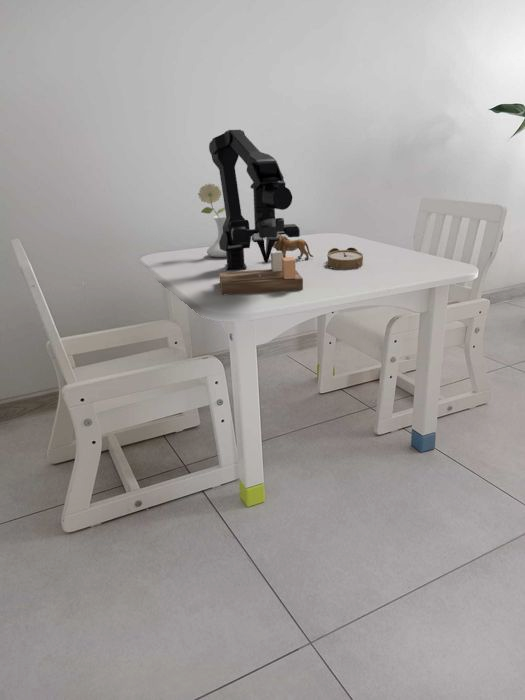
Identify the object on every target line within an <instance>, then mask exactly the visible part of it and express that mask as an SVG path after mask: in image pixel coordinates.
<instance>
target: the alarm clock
mask: <svg viewBox="0 0 525 700" xmlns="http://www.w3.org/2000/svg"><path fill="white" fill-rule="evenodd" d="M363 260H364V253H362V252H360V251H359V250H358V249H357V248H355V247H348V248H347V249H339V248H337V247H334V248H331V249H329V250H328V252H327V266H328V267H329V268H331V269H332V268H333V269H337V270H338V269H339V270H351V269H352V268H353V269H358V268H361V267H363V266H364V265H363V264H364V263H363V262H364V261H363Z"/></svg>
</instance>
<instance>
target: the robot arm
mask: <svg viewBox="0 0 525 700" xmlns="http://www.w3.org/2000/svg"><path fill="white" fill-rule="evenodd" d="M208 150H209V153H210V155H211V160H212V162H213V164H215V166H216V167H217V169H218V171H219V176H220V177H219V178H220V184H221V193H222V197H223V204H224V207H225V210H224V211H225V216H226V220H225V222H224V225H223V234H222V236H221V239H220V241H219V246H220V249H221V250H224V251H226V264H224V265H225V269H226V271H233V270H234V271H235V270H237V271H238V270H246V269H247V265H246V263H245V250H244V249H250V247H251V240H252V242H253V243H256V244H257V245H258V248H259V250H260V253H261V256H262V258H263V261H264V263H265V264H267V263H269V260H270V257H271V251H272V249H273V245H274V243H275V242H276V241H279V238H278V236H279V235H286V237H287V238H299V237H300V235H301V233H300V232H301V231H300V230H301V229H300V227H299V226H297V224H295V223H290V224H285V218H284V217H276V210H280V211H281V210H282V211H283V210H286V209H289V207H290V206H291V205H292V202H293V195H292V192H291V190H290V189H289V187H287V186H286V181H285V180H284V175H283V173H282V171H281V169H280V167H279V164H278V161H277V160H276V158H274V157H273V156H272V155H270V154H268V153H265V152H261V151H260V150H259V149H258V147H256V146H255V145H254V143H253V142H252V141H251V140H250V138H248V137H247V136H246V135H245V131H244V130H241V129H228V130H226V131H225V132H223V133H221V134H220V135H217V136H215V137H213V138H212V140H210V142H209V144H208ZM239 158H241V159H242V161H243V162H244V163H245V165H246V173H247V175H248V176H249V178H250V179H251V181H252V184H250V189H253V213H254V215H253V216H254V217H253V218H254V229H253V228H251V229H250V222H249V220H248V219H245V217H244V216H243V214H242V209H241V201H240V195H239V188H238V181H237V174H236V173H237V172H236V164H237V161H238V160H239ZM264 239H265V240H266V241H265V240H264ZM265 242H266V243H265Z"/></svg>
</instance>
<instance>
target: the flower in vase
mask: <svg viewBox="0 0 525 700" xmlns="http://www.w3.org/2000/svg"><path fill="white" fill-rule="evenodd" d="M197 194H198V195H197V196H198V197H199V198H198V199H200V202H203V203H207V204H211V207H209V206H206V207H204V208H203V209H202V210H201V213H203V214H211V213H212V212H213V211H214V213H215V216H213V217H212V218H213V219H214V221H215V223H216V225H217V227H216V228H217V239H216V240H215V241H214V242H213V243H212V244H211V245H210V246H208V248H207V250H206V254H207V255H209V256H211V257H215V258H225V257H226V251H224V250H221V249H220V246H219V241H220V239H221V236H222V234H223V225H224V222H225V220H226V215H219V214H220V213H222V212H224V211H225V206H224V207H222V208H219V209H218V210H217V211H216V210H215V209H214V206H213V203H216V202H218V201H219V200H220V198H221V196H223V193H222V190H221V189H220V187H219V185H215V184H214V183H208V184H207V183H206V184H204V185H202V186H201V187H200V188H199V192H198V193H197Z"/></svg>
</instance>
